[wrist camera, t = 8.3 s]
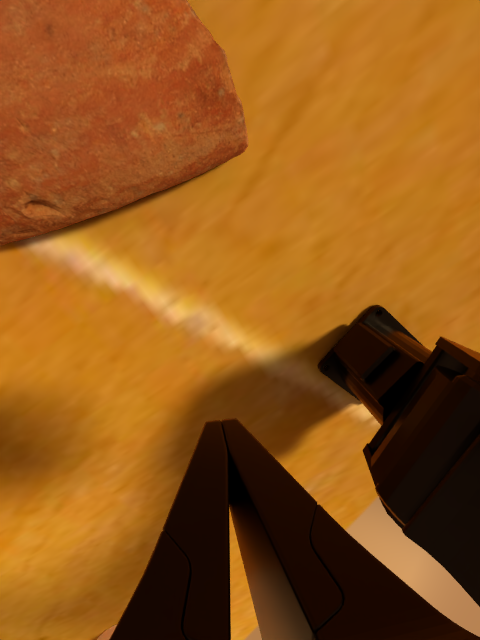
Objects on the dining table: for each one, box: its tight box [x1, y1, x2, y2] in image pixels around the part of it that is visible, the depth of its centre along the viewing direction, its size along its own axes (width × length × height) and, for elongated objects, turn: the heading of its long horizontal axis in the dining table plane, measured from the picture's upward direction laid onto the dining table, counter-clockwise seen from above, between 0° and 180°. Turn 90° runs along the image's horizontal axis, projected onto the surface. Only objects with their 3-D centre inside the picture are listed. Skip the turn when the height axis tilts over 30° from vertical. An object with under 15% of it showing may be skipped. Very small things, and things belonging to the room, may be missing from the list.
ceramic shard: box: [0, 0, 248, 246], centre depth 13 cm, size 15×6×15 cm
